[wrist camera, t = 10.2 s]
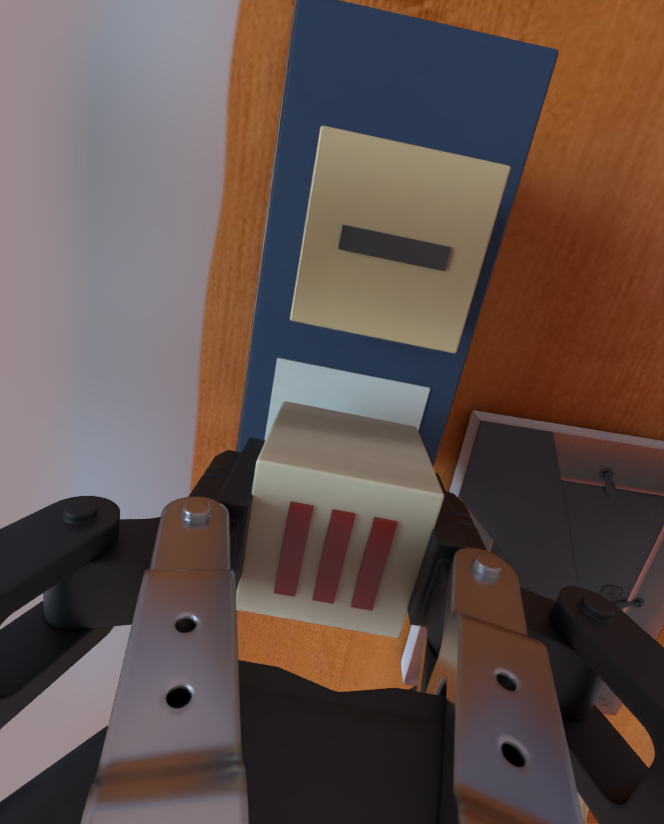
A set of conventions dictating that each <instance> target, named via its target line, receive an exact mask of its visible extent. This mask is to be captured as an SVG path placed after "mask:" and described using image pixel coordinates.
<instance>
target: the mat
mask: <svg viewBox="0 0 664 824" xmlns="http://www.w3.org/2000/svg"><path fill="white" fill-rule="evenodd" d="M557 56H558V50H557V49H552V48H548V47H543V46H539V45H534V44H530V43H525V42H521V41H517V40H512V39H508V38H503V37H499V36H494V35H490V34H486V33H481V32H477V31H472V30H468V29H463V28H459V27H454V26H450V25H446V24H441V23H437V22H432V21H428V20H423V19H419V18H414V17H410V16H406V15H401V14H397V13H392V12H388V11H383V10H379V9H375V8H370V7H366V6H361V5H357V4H352V3H348V2H343V1H339V0H298V4H297V12H296V19H295V27H294V34H293V42H292V49H291V57H290V64H289V72H288V79H287V87H286V94H285V102H284V109H283V117H282V124H281V132H280V139H279V147H278V154H277V162H276V169H275V177H274V184H273V192H272V199H271V207H270V214H269V222H268V229H267V237H266V244H265V252H264V259H263V267H262V274H261V282H260V289H259V297H258V304H257V312H256V320H255V327H254V335H253V342H252V350H251V357H250V365H249V372H248V380H247V387H246V395H245V402H244V410H243V417H242V425H241V432H240V440H239V447H238V452H242V450H243V448H244V447H245V445H246V443H247V441H248V439H249V438H250V437H252V438H257V439H262V440H266V439H267V436H268V434H269V432H270V430H271V427H272V425H273V423H274V421H275V418H276V416H277V414H278V412H279V409H280V407H281V405H282V403H283V401H288V402H293V403H298V404H303V405H308V406H313V407H318V408H324V409H329V410H334V411H339V412H344V413H349V414H354V415H360V416H365V417H370V418H375V419H380V420H385V421H390V422H395V423H401V424H406V425H411V426H415V427H417V429H418V432H419V434H420V437H421V439H422V442H423V444H424V447H425V449H426V451H427V454H428V456H429V459H430V461H431V464H432V466H433V465H434V462H435V459H436V455H437V452H438V449H439V445H440V442H441V439H442V435H443V432H444V429H445V426H446V422H447V419H448V416H449V412H450V409H451V406H452V402H453V399H454V396H455V393H456V389H457V386H458V383H459V379H460V376H461V373H462V369H463V366H464V363H465V360H466V356H467V353H468V350H469V346H470V343H471V340H472V336H473V333H474V330H475V326H476V323H477V320H478V317H479V313H480V310H481V307H482V303H483V300H484V297H485V293H486V290H487V287H488V284H489V280H490V277H491V274H492V270H493V267H494V264H495V260H496V257H497V254H498V251H499V247H500V244H501V241H502V237H503V234H504V231H505V227H506V224H507V221H508V218H509V214H510V211H511V208H512V204H513V201H514V198H515V194H516V191H517V188H518V184H519V181H520V178H521V175H522V171H523V168H524V165H525V161H526V158H527V155H528V151H529V148H530V145H531V142H532V138H533V135H534V132H535V128H536V125H537V122H538V118H539V115H540V112H541V109H542V105H543V102H544V99H545V95H546V92H547V89H548V85H549V82H550V79H551V75H552V72H553V69H554V66H555V62H556V59H557ZM321 126H328V127H333V128H337V129H342V130H346V131H351V132H356V133H360V134H365V135H370V136H374V137H379V138H384V139H388V140H393V141H397V142H402V143H407V144H411V145H416V146H421V147H425V148H430V149H435V150H439V151H444V152H449V153H453V154H458V155H462V156H467V157H472V158H476V159H481V160H486V161H490V162H495V163H500V164H504V165H509V166H510V172H509V176H508V179H507V183H506V186H505V189H504V193H503V196H502V200H501V203H500V206H499V210H498V213H497V217H496V220H495V223H494V227H493V230H492V234H491V237H490V240H489V244H488V247H487V251H486V254H485V257H484V261H483V264H482V268H481V271H480V274H479V278H478V281H477V285H476V288H475V291H474V295H473V298H472V302H471V305H470V308H469V312H468V315H467V319H466V322H465V325H464V329H463V332H462V336H461V339H460V342H459V346H458V349H457V352H456V353H449V352H444V351H439V350H434V349H429V348H424V347H419V346H414V345H409V344H404V343H399V342H394V341H389V340H384V339H379V338H374V337H369V336H364V335H359V334H354V333H349V332H344V331H339V330H334V329H329V328H324V327H319V326H314V325H309V324H304V323H299V322H294V321H291V320H290V314H291V308H292V302H293V295H294V289H295V283H296V276H297V270H298V264H299V258H300V251H301V245H302V239H303V232H304V226H305V220H306V214H307V207H308V201H309V195H310V189H311V182H312V176H313V170H314V163H315V157H316V151H317V145H318V138H319V132H320V128H321Z"/></svg>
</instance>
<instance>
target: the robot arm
mask: <svg viewBox="0 0 664 824" xmlns="http://www.w3.org/2000/svg"><path fill="white" fill-rule="evenodd" d="M265 441H266V440H262V439H257V438H252V437H250V438H249V439H248V441H247V443H246V445H245V447H244V448H243V450H242V452H236V451H231V450H227V451H225V452H223V453H221V454H219V455H217V456H215V458H214V459H213V461H212V462H211V464H210V465H209V467H208V468H207V470H206V471H205V473H204V475H203V476H202V477H201V479H200V480H199V482H198V483H197V485H196V486H195V488H194V489H193V491H192V492H191V494H190V495H189V497H185V498H181V499H177V500H175V501H173V502H171V503H169V504H168V505H167V506H166V507H165V508H164V509H163V511H162V514H161V517H158V518H152V519H125V520H124V519H122V520H121V519H120V509H119V507H118V506H117V505H116V504H115V503H114V502H112V501H111V500H108V499H106V498H101V497H96V496H78V497H72V498H68V499H64V500H61V501H58V502H56V503H54V504H52V505H49V506H47V507H45V508H43V509H41V510H39V511H37V512H35V513H33V514H31V515H29V516H27V517H25V518H22V519H20V520H18V521H16V522H14V523H12V524H10V525H8V526H6V527H4V528H2V529H0V625H1V624H2V623H3V622H4V621H5V620H6V619H7V618H8V617H9V616H10V615H11V614H12V613H14V612H15V611H17V610H18V609H20V608H21V607H23V606H24V605H26V604H27V603H29V602H30V601H32V600H33V599H35V598H36V597H38V596H39V595H41V594H42V593H43V601H42V602H40V603H39V604H37V605H36V606H35V607H33V608H32V609H30V610H29V611H27V612H26V613H24V614H23V615H21V616H20V617H18V618H17V619H15V620H14V621H12V622H11V623H10V624H8V625H6V626H5V627H4V628H2V629H1V630H0V729H1V728H2V727H3V726H4V725H6V724H7V723H8V722H9V721H10V720H11V719H12V718H13V717H15V716H16V715H17V714H18V713H19V712H20V711H21V710H23V709H24V708H25V707H26V706H27V705H28V704H29V703H30V702H32V701H33V700H34V699H35V698H36V697H37V696H38V695H40V694H41V693H42V692H43V691H44V690H45V689H46V688H48V687H49V686H50V685H51V684H52V683H53V682H54V681H56V680H57V679H58V678H59V677H60V676H61V675H62V674H64V673H65V672H66V671H67V670H68V669H69V668H70V667H71V666H73V665H74V664H75V663H76V662H77V661H78V660H79V659H80V658H82V657H83V656H84V655H85V654H86V653H87V652H89V651H90V650H91V649H92V648H93V647H94V646H95V645H96V644H98V643H99V642H100V641H101V640H102V639H103V638H104V637H105V636H107V634H108V633H110V631H111V630H112V628H113V627H114V626H121V625H131V624H132V626H131V631H130V635H129V639H128V643H127V648H126V652H125V657H124V661H123V665H122V669H121V674H120V678H119V682H118V686H117V691H116V695H115V699H114V703H113V708H112V712H111V716H110V721H109V725H108V726H106V727H105V728H103V729H102V730H101V731H99V732H98V733H96V734H95V735H94V736H92V737H91V738H89V739H88V740H86V741H85V742H84V743H82V744H81V745H79V746H78V747H77V748H75V749H74V750H72V751H71V752H70V753H68V754H67V755H65V756H64V757H63V758H61V759H60V760H58V761H57V762H56V763H54V764H53V765H51V766H50V767H49V768H47V769H46V770H44V771H43V772H42V773H40V774H39V775H37V776H36V777H35V778H33V779H32V780H30V781H29V782H28V783H26V784H25V785H23V786H22V787H21V788H19V789H18V790H16V791H15V792H13V793H12V794H11V795H9V796H8V797H6V798H5V799H4V800H2V801H1V802H0V824H584V821H583V816H582V811H581V806H580V802H579V797H578V793H579V795H580V796H581V798H582V799H583V801H584V802H585V804H586V805H587V806H588V808H589V809H590V811H591V812H592V814H593V815H594V817H595V818H596V820H597V821H598V823H599V824H664V647H663V646H661V645H660V644H659V643H658V642H657V641H656V640H655V639H654V638H652V637H651V636H650V635H649V634H648V633H647V632H646V631H645V630H644V629H642V628H641V627H640V626H639V625H638V624H637V623H636V622H635V621H633V620H632V619H631V618H630V617H629V616H628V615H627V614H626V613H624V612H623V611H622V610H621V609H620V608H619V607H618V606H616V605H615V604H614V603H612V602H611V601H610V600H608V599H606V598H605V597H603V596H601V595H599V594H598V593H595V592H593V591H591V590H588V589H585V588H581V587H576V586H568V587H564V588H562V589H561V590H560V592H559V594H558V597H557V599H556V601H554V600H552V599H549V598H546V597H544V596H541V595H539V594H536V593H534V592H531V591H529V590H527V589H524V588H522V587H520V584H519V579H518V575H517V574H516V572H515V570H514V569H513V568H512V567H511V566H510V565H509V564H508V563H507V562H506V561H504V560H503V559H502V558H500V557H498V556H497V555H495V554H493V553H491V552H488V551H487V549H486V547H485V545H484V543H483V541H482V539H481V536H480V534H479V532H478V530H477V528H476V527H475V524H474V522H473V520H472V518H471V517H470V513H469V511H468V509H467V507H466V505H465V504H464V503H463V502H462V501H461V500H460V499H459V498H458V497H457V496H456V495H455V494H454V493H450V492H446V491H445V488H444V486H443V484H442V481H441V479H440V476H439V474H438V473H435V474H436V476H437V479H438V481H439V484H440V486H441V489H442V491H443V494H444V500H443V503H442V506H441V509H440V512H439V515H438V518H437V521H436V525H435V528H434V529H433V530H432V534H431V537H430V540H429V543H428V546H427V549H426V552H425V555H424V559H423V562H422V565H421V568H420V571H419V574H418V577H417V580H416V583H415V587H414V590H413V593H412V596H411V599H410V602H409V605H408V614H409V620H410V625H415V626H421V627H426V629H427V636H426V639H425V642H424V645H423V648H422V653H421V661H420V668H419V676H418V684H417V691H412V690H406V689H400V688H387V689H375V690H362V691H350V692H337V691H333V690H330V689H328V688H325V687H323V686H321V685H318V684H316V683H314V682H312V681H309V680H307V679H305V678H302V677H300V676H298V675H295V674H293V673H291V672H288V671H286V670H284V669H281V668H279V667H275V666H269V665H263V664H258V663H252V662H246V661H241V660H238V638H237V610H236V590H237V587H238V584H239V581H240V578H241V571H242V564H243V558H244V551H245V545H246V538H247V532H248V525H249V518H250V512H251V505H252V499H253V495H252V486H253V480H254V473H255V467H256V461H257V459H258V456H259V454H260V452H261V450H262V448H263V445H264V443H265ZM605 685H607V686H608V687H609V688H610V689H611V691H612V692H613V693H614V694H615V695H616V696H617V697H618V698H619V699H620V701H621V702H622V703H623V704H624V705H625V706H626V707H627V708H628V709H629V710H630V712H631V713H632V714H633V715H634V716H635V717H636V718H637V719H638V720H639V722H640V723H641V724H642V725H643V726H644V727H645V729H646V730H647V732H648V733H649V735H650V737H651V739H652V742H653V745H654V750H655V758H654V761H653V763H652V764H651V766H650V768H648V767H647V766H646V765H645V763H644V762H643V761H642V760H641V759H640V757H639V756H638V755H637V754H636V753H635V752H634V750H633V749H632V748H631V747H630V746H629V744H628V743H627V742H626V741H625V740H624V738H623V737H622V736H621V735H620V734H619V733H618V731H617V730H616V729H615V728H614V727H613V725H612V724H611V723H610V722H609V721H608V719H607V718H606V717H605V716H604V715H603V714H602V712H601V711H600V710H599V709H598V708H597V706H596V705H595V703H596V701H597V699H598V697H599V696H600V694H601V692H602V690H603V688H604V687H605Z"/></svg>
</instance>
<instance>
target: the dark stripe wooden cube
mask: <svg viewBox="0 0 664 824" xmlns="http://www.w3.org/2000/svg"><path fill="white" fill-rule="evenodd" d="M509 172H510V166H509V165H504V164H500V163H495V162H490V161H486V160H481V159H476V158H472V157H467V156H462V155H458V154H453V153H449V152H444V151H439V150H435V149H430V148H425V147H421V146H416V145H411V144H407V143H402V142H397V141H393V140H388V139H384V138H379V137H374V136H370V135H365V134H360V133H356V132H351V131H346V130H342V129H337V128H333V127H328V126H321V128H320V132H319V138H318V145H317V151H316V157H315V163H314V170H313V176H312V182H311V189H310V195H309V201H308V207H307V214H306V220H305V226H304V232H303V239H302V245H301V251H300V258H299V264H298V270H297V276H296V283H295V289H294V295H293V302H292V308H291V314H290V320H291V321H294V322H299V323H304V324H309V325H314V326H319V327H324V328H329V329H334V330H339V331H344V332H349V333H354V334H359V335H364V336H369V337H374V338H379V339H384V340H389V341H394V342H399V343H404V344H409V345H414V346H419V347H424V348H429V349H434V350H439V351H444V352H449V353H456V352H457V349H458V346H459V342H460V339H461V336H462V332H463V329H464V325H465V322H466V319H467V315H468V312H469V308H470V305H471V302H472V298H473V295H474V291H475V288H476V285H477V281H478V278H479V274H480V271H481V268H482V264H483V261H484V257H485V254H486V251H487V247H488V244H489V240H490V237H491V234H492V230H493V227H494V223H495V220H496V217H497V213H498V210H499V206H500V203H501V200H502V196H503V193H504V189H505V186H506V183H507V179H508V176H509Z"/></svg>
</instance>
